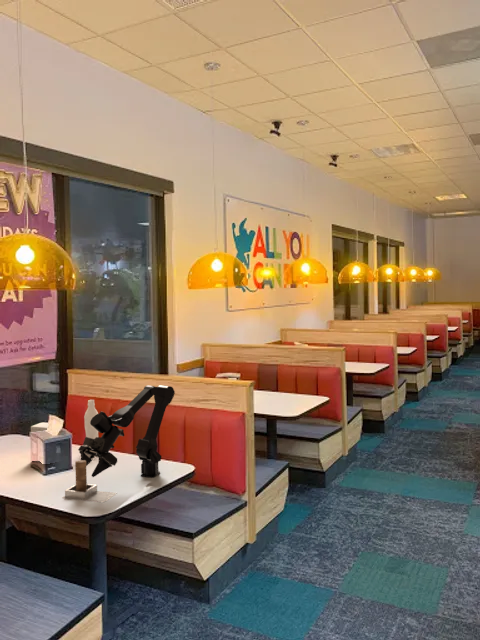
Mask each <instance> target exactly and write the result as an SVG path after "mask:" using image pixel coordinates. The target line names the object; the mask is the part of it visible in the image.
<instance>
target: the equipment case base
mask: <svg viewBox="0 0 480 640" xmlns="http://www.w3.org/2000/svg"><path fill="white" fill-rule="evenodd" d="M116 495H118V492H110V491H102V490H97V492H95V493H94V494H92V495H91V496H89V497H88V498H86V499H79V498H70V497H65V495H64V496H63V497H61V498H62V499H67V500H76V501H87V502H94V503H95V502H97V503H105V502H107V501H108V500H110V499H111V498H113V497H114V496H116Z"/></svg>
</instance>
